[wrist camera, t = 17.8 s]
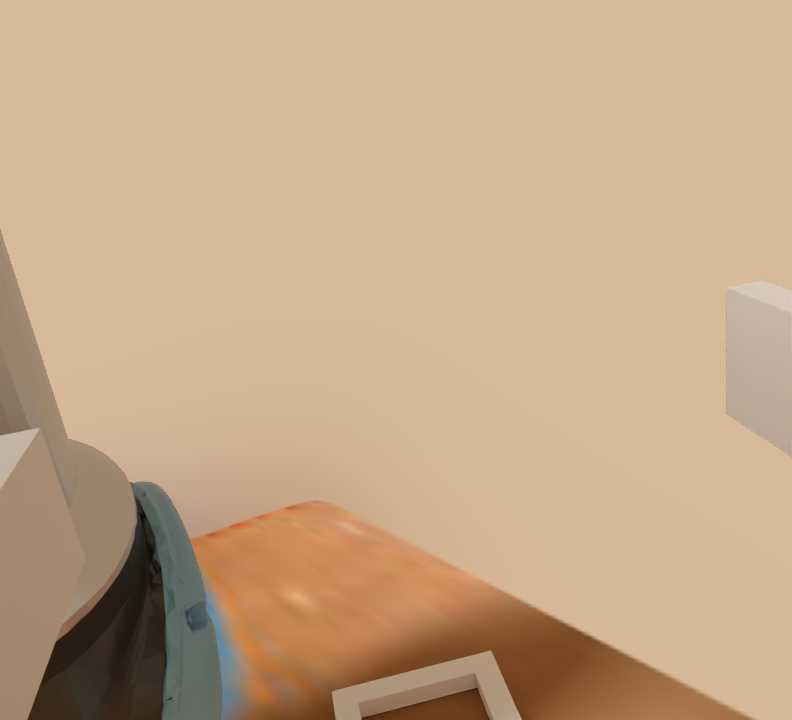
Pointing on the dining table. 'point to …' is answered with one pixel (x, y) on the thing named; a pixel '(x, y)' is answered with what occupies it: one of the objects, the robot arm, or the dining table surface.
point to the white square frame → (429, 689)
